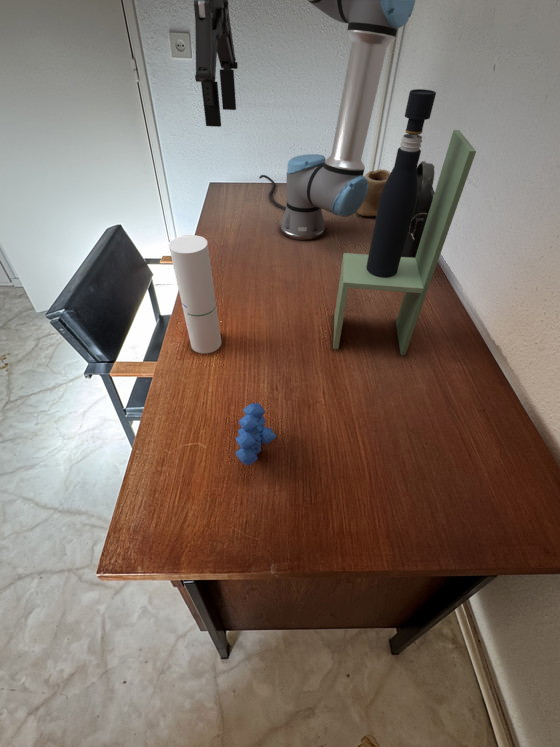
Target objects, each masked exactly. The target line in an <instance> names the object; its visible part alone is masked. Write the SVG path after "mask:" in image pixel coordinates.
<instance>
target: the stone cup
mask: <svg viewBox="0 0 560 747" xmlns="http://www.w3.org/2000/svg"><path fill="white" fill-rule="evenodd" d="M390 173H391V171H389V170H387V169H382V168H379V169H375V170H370V171H367V172H366V173H364V175H363V176H364V177H365V178H366V179H367V180H368V192H367V195H366V198H365V200H364V202H363V204H362V205H361V207H360V208H359V209H358V210H357V211H356V212H355V214H357V215H359V216H362V217H376V216H377V211H378V206H379V201H380V196H381V193H382V191H383V188H384V186H385V183H386V181H387V179H388V177H389V175H390Z"/></svg>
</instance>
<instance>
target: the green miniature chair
mask: <svg viewBox="0 0 560 747" xmlns="http://www.w3.org/2000/svg"><path fill="white" fill-rule="evenodd" d="M476 154H477V150H476V149H475V147H473V145H472V144H471V143H470V141H469V140H468V139H467V138H466V136H465V135H464V134H463V133H462V132H461V130H460V129H453V131H452V133H451V137H450V141H449V143H448V147H447V150H446V153H445V157H444V161H443V164H442V167H441V170H440V174H439V177H438V180H437V183H436V187H435V190H434V192H435V194H434V197H433V200H432V204H431V207H430V210H429V214H428V217H427V220H426V224H425V227H424V230H423V234H422V237H421V240H420V244H419V247H418V250H417V254H416V257H415V258H410V257H401V259H400V263H399V267H398V271H397V273H396V274H395V275H394V276H392V277H387V278H383V277H377V276H374V275H372V274H370V273H369V272H368V271H367V268H366V266H367V261H368V256H369V254H366V253H365V254H364V253H352V252H351V253H350V252H343V254H342V261H341V269H340V275H339V276H340V277H339V282H338V289H337V296H336V301H335V302H336V303H335V310H334V317H333V341H332V342H333V345H332V348H333V350H339V347H340V342H341V336H342V330H343V324H344V317H345V312H346V305H347V299H348V293H349V289H359V290H373V291H384V292H385V291H386V292H399V293H404V294H403V297H402V301H401V304H400V308H399V311H398V314H397V317H396V320H395V326H396V333H397V340H398V347H399V352H400V355H401V356H406V354H407V351H408V348H409V345H410V342H411V339H412V337H413V333H414V331H415V328H416V325H417V322H418V319H419V317H420V313H421V310H422V308H423V305H424V302H425V300H426V296H427V293H428V291H429V288H430V285H431V282H432V279H433V277H434V274H435V271H436V268H437V265H438V263H439V259H440V256H441V254H442V251H443V248H444V245H445V242H446V239H447V237H448V234H449V231H450V229H451V228H450V227H451V225H452V222H453V219H454V216H455V213H456V211H457V208H458V205H459V202H460V199H461V197H462V193H463V191H464V188H465V185H466V182H467V180H468V176H469V173H470V170H471V168H472V165H473V163H474V160H475V157H476Z"/></svg>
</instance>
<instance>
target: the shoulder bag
mask: <svg viewBox="0 0 560 747" xmlns="http://www.w3.org/2000/svg"><path fill="white" fill-rule="evenodd" d="M434 180H435V165H434V164H433V163H429V162H426V160H423V161H420V163H418V165H417V182H418V187H417V199H416V203H415V207H414V211H413V215H412V218H411V222H410V226H409V230H408V233H407V237H406V241H405V244H404V248H403V252H402V256H401V257H410V258H415V257H416V254H417V250H418V247H419V244H420V240H421V237H422V234H423V230H424V227H425V224H426V220H427V217H428V214H429V210H430V207H431V204H432V200H433V197H434V194H435V190H434Z"/></svg>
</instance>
